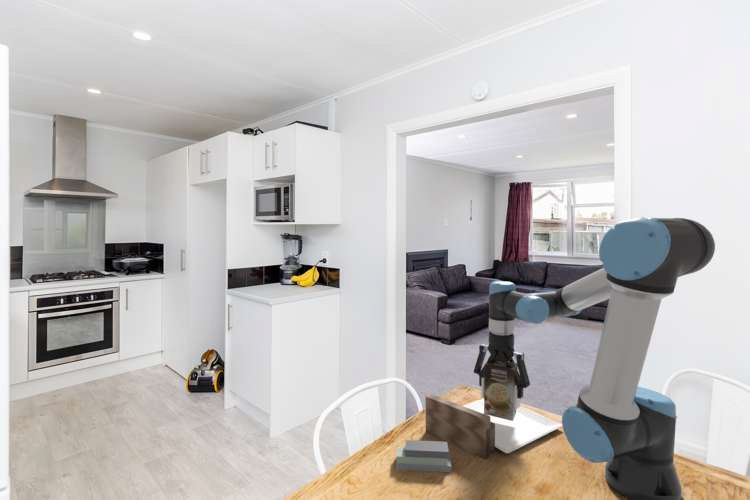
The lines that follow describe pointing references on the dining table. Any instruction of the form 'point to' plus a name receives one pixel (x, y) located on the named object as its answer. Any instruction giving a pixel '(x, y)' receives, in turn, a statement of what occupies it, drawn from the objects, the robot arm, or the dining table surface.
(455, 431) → the walnut block
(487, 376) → the coffee box
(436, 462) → the sleeved eraser
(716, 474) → the dining table surface
